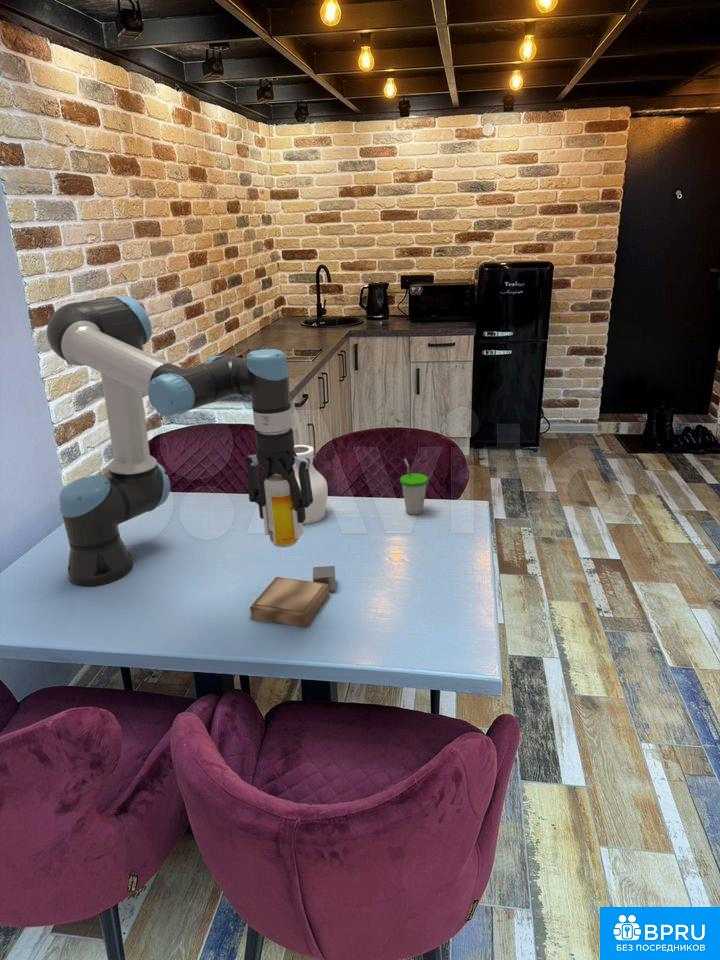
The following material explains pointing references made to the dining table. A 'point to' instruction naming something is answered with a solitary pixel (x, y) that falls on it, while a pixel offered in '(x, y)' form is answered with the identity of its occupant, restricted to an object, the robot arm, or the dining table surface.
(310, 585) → the plinth
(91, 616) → the dining table surface
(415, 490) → the cup
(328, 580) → the steel block
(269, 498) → the beer can
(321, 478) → the vase
